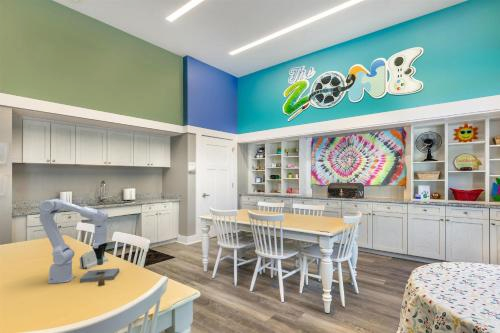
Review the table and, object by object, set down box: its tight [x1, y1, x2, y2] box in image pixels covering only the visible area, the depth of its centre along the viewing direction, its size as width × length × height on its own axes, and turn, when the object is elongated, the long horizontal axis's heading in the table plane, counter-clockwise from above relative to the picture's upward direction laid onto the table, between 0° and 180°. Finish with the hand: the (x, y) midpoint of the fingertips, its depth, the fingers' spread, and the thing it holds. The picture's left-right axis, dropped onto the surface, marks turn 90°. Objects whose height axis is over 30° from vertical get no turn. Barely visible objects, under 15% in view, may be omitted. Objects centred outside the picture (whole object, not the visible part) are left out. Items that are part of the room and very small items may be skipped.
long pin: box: [97, 245, 104, 266], centre depth 141 cm, size 3×3×10 cm
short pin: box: [97, 275, 106, 287], centre depth 131 cm, size 3×3×4 cm
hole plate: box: [79, 267, 120, 284], centre depth 142 cm, size 16×12×2 cm
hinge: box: [78, 249, 109, 270], centre depth 162 cm, size 17×5×10 cm, turn 167°
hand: (100, 258), depth 141 cm, fingers closed on long pin, 3 cm apart
